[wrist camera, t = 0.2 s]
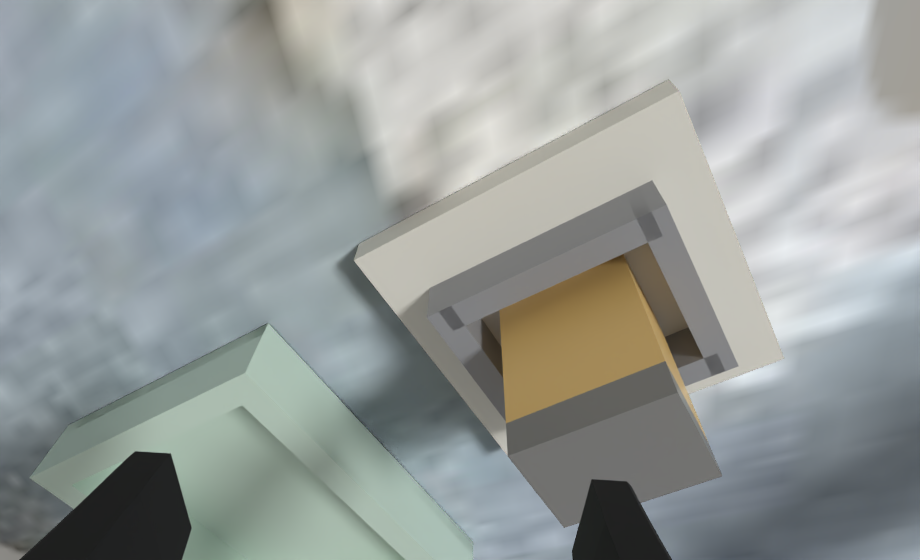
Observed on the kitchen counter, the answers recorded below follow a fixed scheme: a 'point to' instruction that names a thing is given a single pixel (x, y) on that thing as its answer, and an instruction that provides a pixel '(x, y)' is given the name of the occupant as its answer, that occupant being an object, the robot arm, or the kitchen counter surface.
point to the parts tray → (260, 463)
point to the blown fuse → (597, 394)
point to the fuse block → (579, 251)
